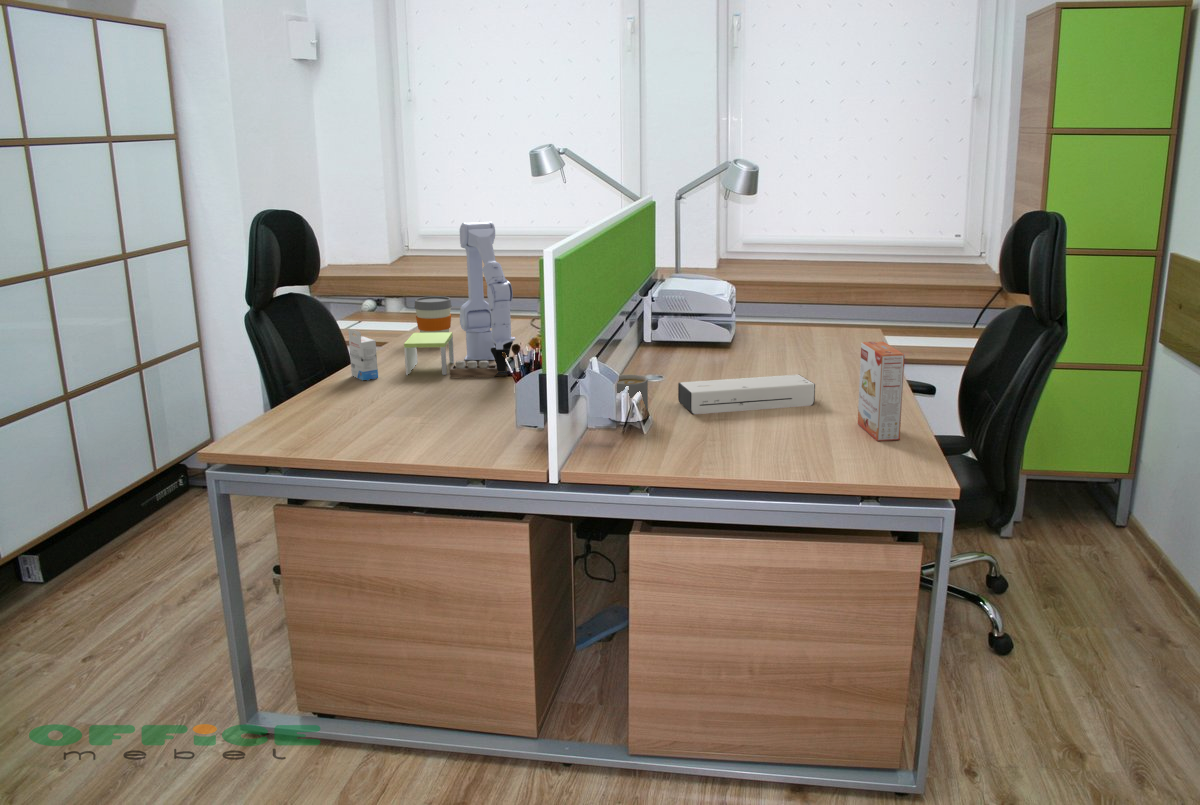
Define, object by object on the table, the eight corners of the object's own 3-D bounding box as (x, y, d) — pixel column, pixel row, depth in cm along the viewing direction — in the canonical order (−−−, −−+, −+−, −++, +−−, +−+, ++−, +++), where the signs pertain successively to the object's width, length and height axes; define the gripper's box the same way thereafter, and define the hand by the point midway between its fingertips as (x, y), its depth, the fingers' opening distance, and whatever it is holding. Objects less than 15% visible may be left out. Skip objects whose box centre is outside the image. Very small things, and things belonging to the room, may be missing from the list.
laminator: (690, 416, 260) (690, 392, 258) (676, 403, 272) (677, 381, 270) (814, 406, 267) (815, 383, 265) (796, 395, 278) (797, 373, 277)
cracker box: (855, 424, 249) (860, 341, 244) (879, 423, 250) (884, 340, 244) (875, 441, 236) (880, 354, 230) (900, 440, 236) (906, 353, 231)
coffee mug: (640, 410, 264) (640, 373, 261) (653, 420, 255) (653, 382, 252) (591, 415, 261) (590, 377, 258) (601, 425, 251) (601, 386, 249)
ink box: (379, 378, 301) (375, 330, 297) (364, 381, 298) (360, 332, 294) (366, 373, 308) (362, 325, 304) (350, 376, 304) (346, 328, 301)
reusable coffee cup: (450, 345, 344) (448, 302, 340) (413, 346, 344) (410, 302, 340) (456, 338, 356) (453, 295, 352) (420, 338, 356) (417, 296, 352)
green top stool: (453, 362, 320) (452, 332, 317) (446, 374, 304) (444, 343, 302) (415, 362, 320) (413, 332, 317) (406, 375, 305) (403, 343, 302)
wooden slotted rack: (508, 373, 306) (508, 356, 304) (507, 377, 301) (506, 360, 300) (452, 373, 306) (451, 357, 305) (450, 377, 301) (449, 361, 300)
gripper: (512, 327, 292) (514, 373, 296) (516, 318, 306) (518, 362, 310) (487, 328, 292) (490, 374, 296) (493, 318, 306) (495, 362, 310)
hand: (502, 368), depth 303 cm, fingers open, 7 cm apart
